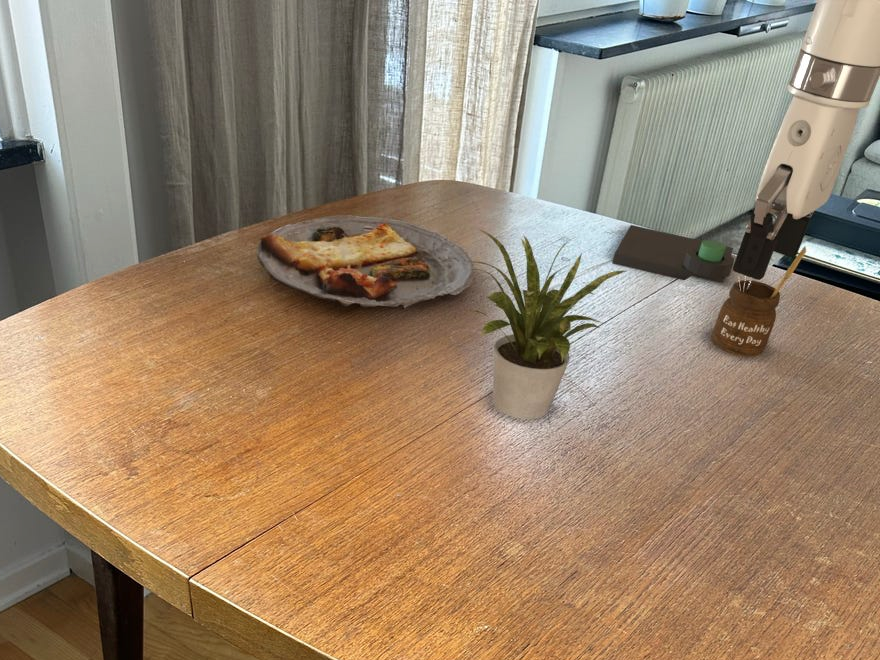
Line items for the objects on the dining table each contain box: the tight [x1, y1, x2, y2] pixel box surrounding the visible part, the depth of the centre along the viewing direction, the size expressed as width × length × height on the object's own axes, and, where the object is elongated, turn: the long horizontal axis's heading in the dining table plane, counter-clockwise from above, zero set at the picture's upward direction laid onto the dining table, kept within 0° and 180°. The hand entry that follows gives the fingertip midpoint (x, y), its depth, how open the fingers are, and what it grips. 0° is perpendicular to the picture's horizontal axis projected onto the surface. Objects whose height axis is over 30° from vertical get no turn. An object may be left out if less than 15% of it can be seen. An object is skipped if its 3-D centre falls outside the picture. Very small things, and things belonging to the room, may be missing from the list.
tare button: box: [698, 239, 727, 262], centre depth 119 cm, size 3×3×2 cm
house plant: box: [467, 227, 627, 420], centre depth 86 cm, size 14×14×16 cm
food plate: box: [256, 214, 474, 309], centre depth 110 cm, size 25×23×4 cm
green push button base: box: [611, 224, 735, 284], centre depth 123 cm, size 14×13×3 cm
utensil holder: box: [710, 245, 807, 357], centre depth 102 cm, size 6×6×12 cm
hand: (764, 263), depth 99 cm, fingers open, 9 cm apart
